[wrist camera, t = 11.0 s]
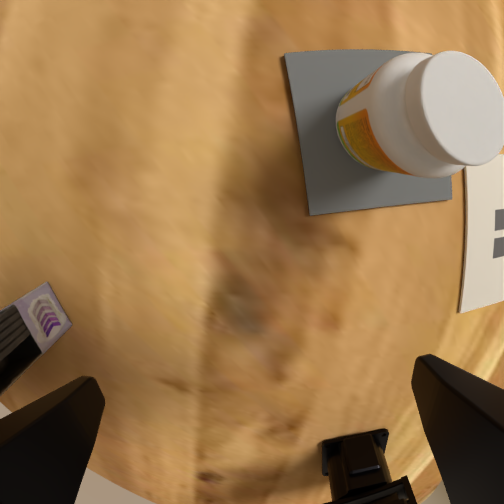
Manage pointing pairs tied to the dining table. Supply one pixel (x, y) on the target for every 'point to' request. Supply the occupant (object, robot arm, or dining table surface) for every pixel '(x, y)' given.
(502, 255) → the tile
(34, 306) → the cake pan box
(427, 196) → the slate mat
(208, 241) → the dining table surface
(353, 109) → the supplement bottle
